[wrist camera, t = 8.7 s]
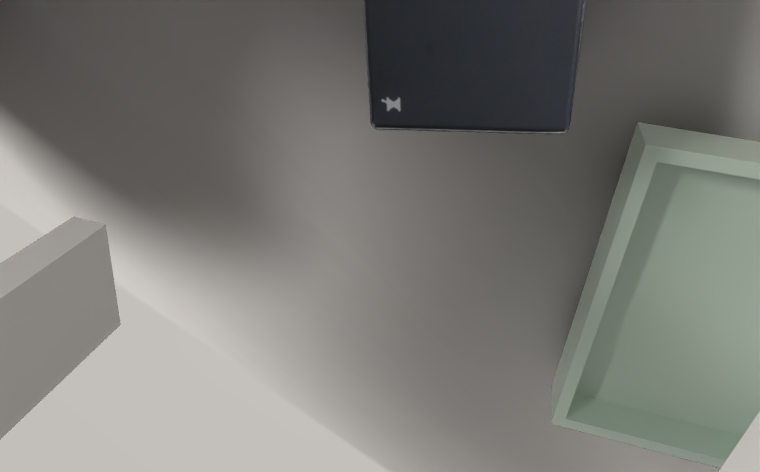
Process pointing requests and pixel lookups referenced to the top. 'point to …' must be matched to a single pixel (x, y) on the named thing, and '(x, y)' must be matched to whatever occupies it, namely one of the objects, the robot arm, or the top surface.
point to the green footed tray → (671, 302)
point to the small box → (473, 64)
